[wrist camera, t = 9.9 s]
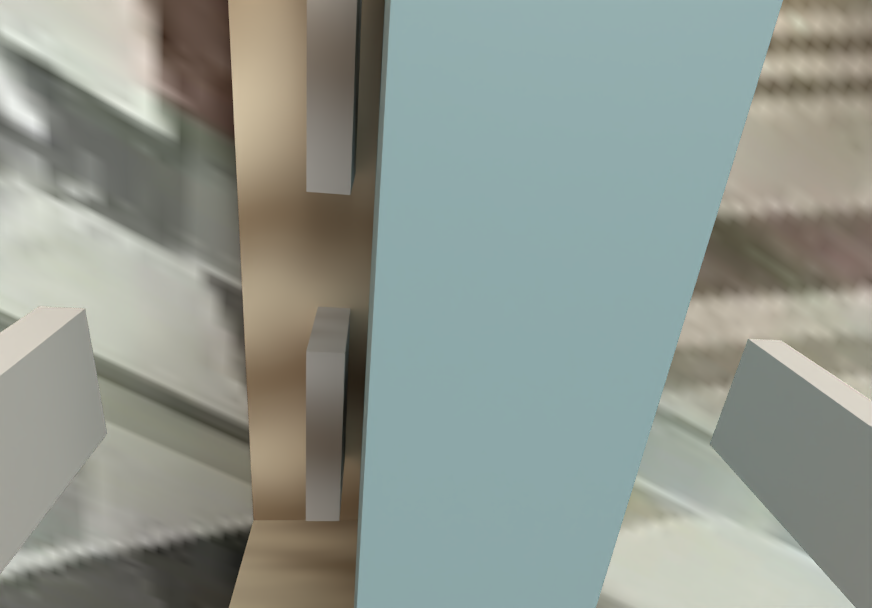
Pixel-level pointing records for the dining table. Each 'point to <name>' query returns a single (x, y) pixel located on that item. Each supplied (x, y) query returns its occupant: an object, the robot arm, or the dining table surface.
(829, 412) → the robot arm
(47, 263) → the dining table surface
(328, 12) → the hinge base
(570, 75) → the door
